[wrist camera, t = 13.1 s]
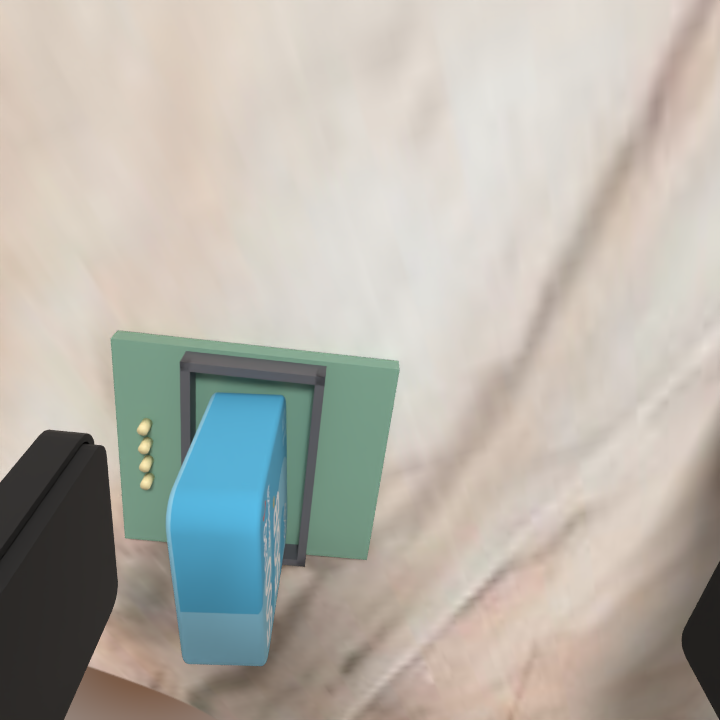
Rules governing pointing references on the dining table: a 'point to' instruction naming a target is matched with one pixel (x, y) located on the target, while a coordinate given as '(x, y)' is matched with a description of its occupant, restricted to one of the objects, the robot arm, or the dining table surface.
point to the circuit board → (303, 428)
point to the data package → (230, 530)
